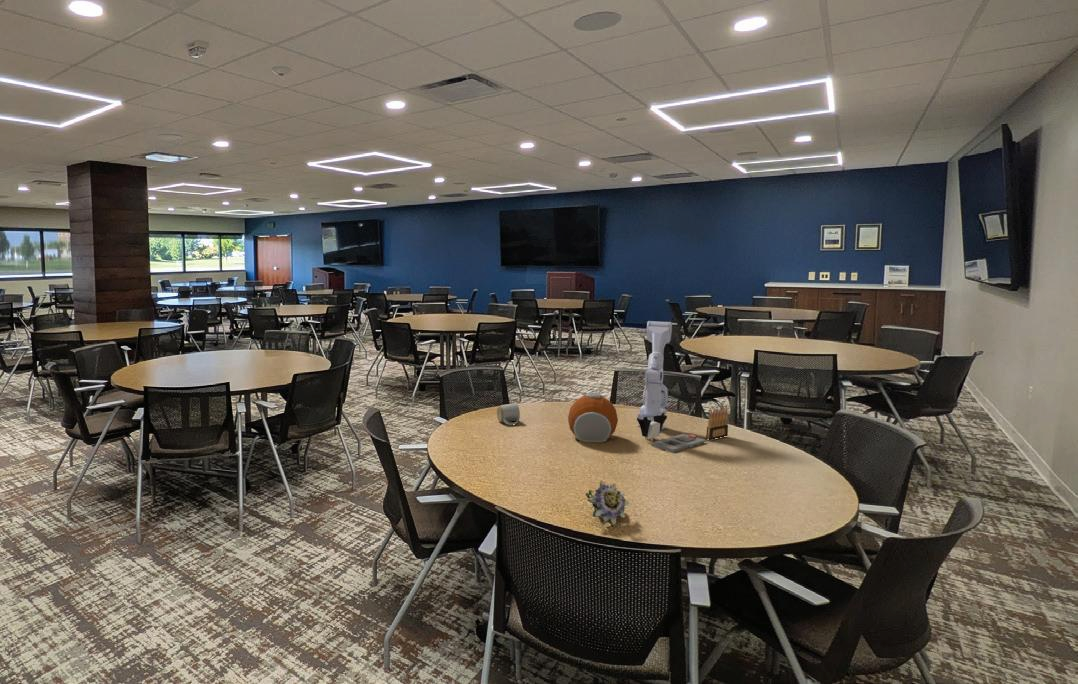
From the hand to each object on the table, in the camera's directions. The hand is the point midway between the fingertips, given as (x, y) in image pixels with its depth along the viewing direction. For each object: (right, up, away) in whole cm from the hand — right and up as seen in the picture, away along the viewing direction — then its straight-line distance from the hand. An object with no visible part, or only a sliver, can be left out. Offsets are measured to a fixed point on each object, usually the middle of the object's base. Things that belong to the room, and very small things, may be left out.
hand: (651, 434), depth 221 cm
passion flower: (-26, -11, -70) cm, 75 cm away
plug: (0, -2, 0) cm, 2 cm away
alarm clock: (-23, -2, +1) cm, 23 cm away
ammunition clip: (+27, -2, +4) cm, 27 cm away
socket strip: (+9, -3, -5) cm, 11 cm away
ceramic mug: (-55, +2, +19) cm, 59 cm away
